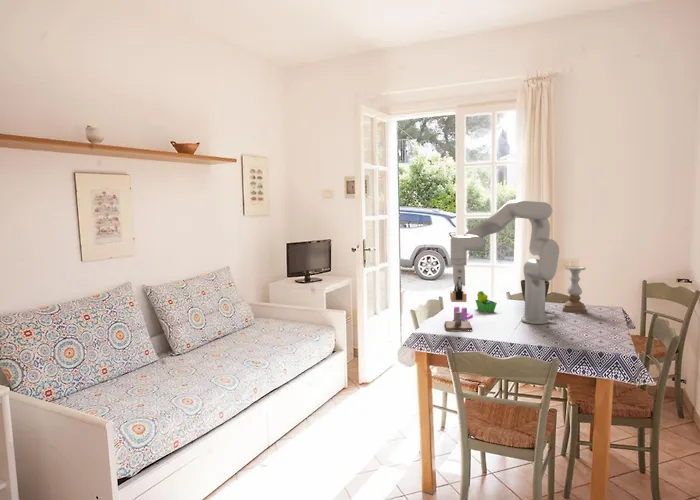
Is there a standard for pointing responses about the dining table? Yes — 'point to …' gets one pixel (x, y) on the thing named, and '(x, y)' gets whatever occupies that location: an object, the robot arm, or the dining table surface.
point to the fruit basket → (485, 303)
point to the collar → (453, 297)
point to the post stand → (458, 323)
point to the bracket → (463, 313)
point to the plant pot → (524, 288)
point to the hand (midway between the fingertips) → (458, 297)
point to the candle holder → (574, 292)
